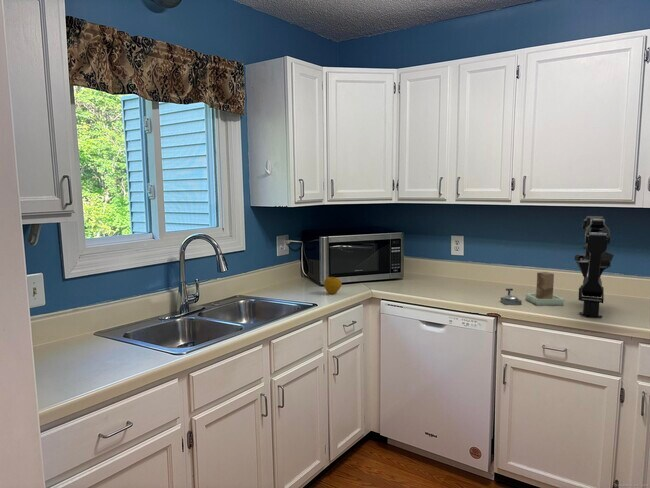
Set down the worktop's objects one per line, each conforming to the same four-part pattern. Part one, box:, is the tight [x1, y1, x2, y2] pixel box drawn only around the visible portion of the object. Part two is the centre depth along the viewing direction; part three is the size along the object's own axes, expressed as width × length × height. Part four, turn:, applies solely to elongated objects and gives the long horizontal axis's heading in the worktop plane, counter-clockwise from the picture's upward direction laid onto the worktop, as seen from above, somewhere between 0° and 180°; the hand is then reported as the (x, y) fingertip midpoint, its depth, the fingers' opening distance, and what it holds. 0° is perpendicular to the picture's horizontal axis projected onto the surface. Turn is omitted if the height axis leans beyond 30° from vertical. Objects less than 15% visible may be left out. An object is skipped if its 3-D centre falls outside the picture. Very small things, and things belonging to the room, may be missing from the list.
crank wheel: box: [503, 288, 519, 300], centre depth 221 cm, size 6×6×4 cm
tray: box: [525, 292, 565, 307], centre depth 223 cm, size 12×12×3 cm
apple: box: [323, 276, 342, 295], centre depth 242 cm, size 9×9×9 cm
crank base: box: [500, 296, 523, 306], centre depth 222 cm, size 7×7×2 cm
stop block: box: [535, 271, 555, 299], centre depth 222 cm, size 5×5×13 cm
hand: (590, 279), depth 211 cm, fingers open, 9 cm apart
